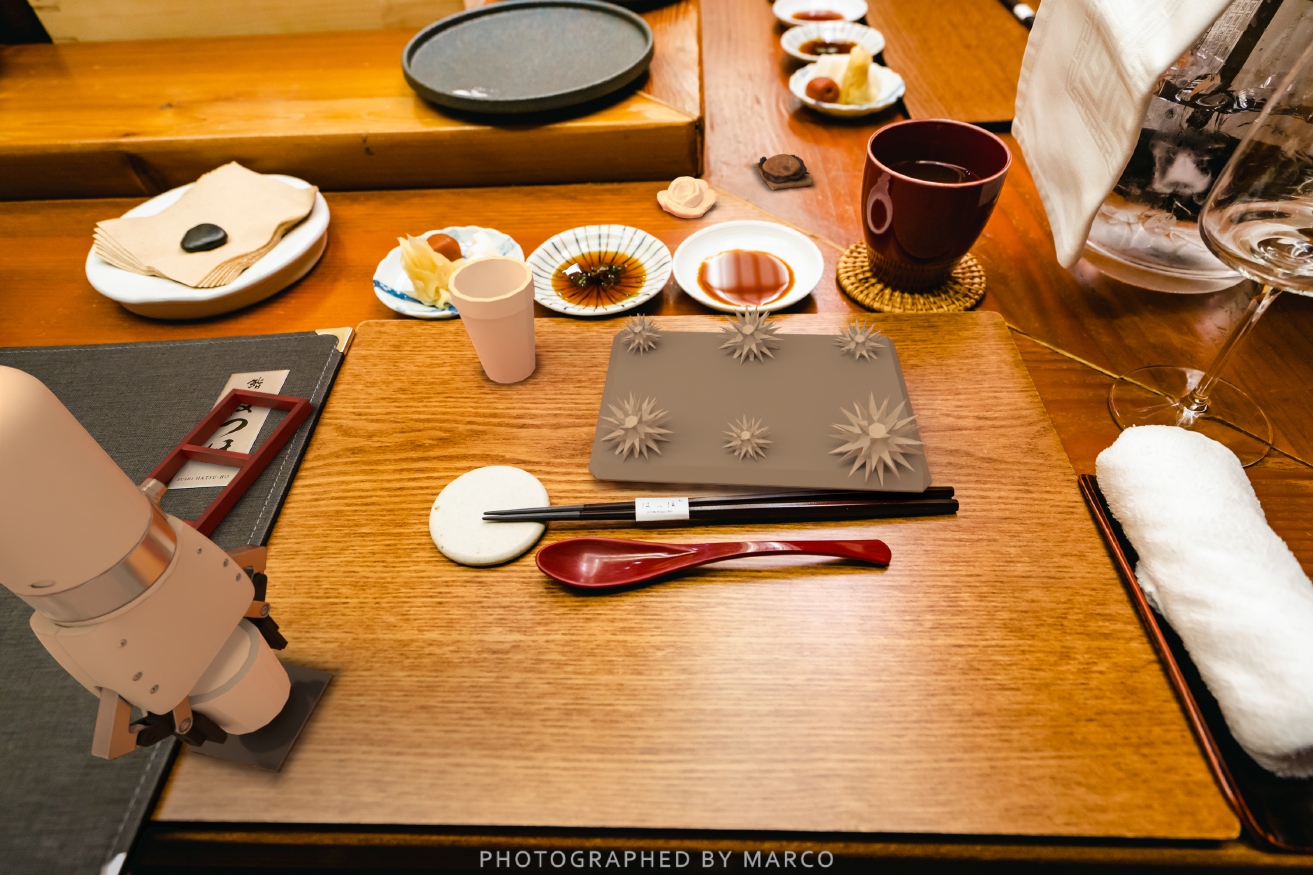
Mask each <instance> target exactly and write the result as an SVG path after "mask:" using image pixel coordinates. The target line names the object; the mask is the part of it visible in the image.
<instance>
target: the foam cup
mask: <svg viewBox="0 0 1313 875" xmlns="http://www.w3.org/2000/svg"><path fill="white" fill-rule="evenodd" d="M447 285H448V286H447V288H448V292H449V295H450V298H451V301H452V305H453V306H454V308H455V309H456V310H457V312H458V314H459V317H460V319H461V322H462V323H463V326H464V328H465V330H466V332H467V335H468V337H469V339H470V341H471V343H472V346H473V348H474V351H475V353H476V355H477V357H478V359H479V362H480V364H481V366H482V368H483V370H484V372H485V374H486V376H487V377H488V379H489V380H490V381H494V382H496V383H498V384H514V383H518V382H522V381H524V380H525V379H527V378H528V377H530V376H531V375H532V374H533V372H534V371H535V370H536V335H535V307H534V306H535V304H534V299H535V297H536V284H535V280H534V275H533V269H532V268H531V266H529V265H528V263H526V262H525V261H524V260H521V259H519V258H515V257H513V256H504V255H503V256H502V255H490V256H485V257H480V258H476V259H472V260H469V261H468V262H466V263H464V264H462V265H460V266H458V267H457V268H456V269H455V271H454V272H452V274H450V276H449V278H448V284H447Z"/></svg>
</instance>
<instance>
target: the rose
mask: <svg viewBox="0 0 1313 875" xmlns="http://www.w3.org/2000/svg"><path fill="white" fill-rule="evenodd" d="M717 199H718V196H717V193H716V191H715V190H714V189H711V188H710V186H709V183H708V182H707V181H706V180H705V179H701V178H694V177H692V176H678V177H677V178H675V179H674V180H672V181H671V183H670V184H669V185H668V188H667V189H664V190H659V191H657V194H656V200H657V202H658V203H659V204H658V205H660V206H661V208H662V210H663V211H665V212H668V213H669V214H672V215H674V216H675V217H677V218H682V219H697V218H701V217H703V215H704V214H705V213H706V212H708V211H709V210H710V209H711V208H712V207H713V205H715V203H716V202H717Z"/></svg>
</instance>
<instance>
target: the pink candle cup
mask: <svg viewBox="0 0 1313 875" xmlns="http://www.w3.org/2000/svg"><path fill="white" fill-rule="evenodd" d="M280 662H281V661H279V658H278V657H277V655H276V653H274V651H273V649H271V648H270V647H269V645H268V644H267V642H266V641H265V639H264V637H263V636H262V634H261V633H260V631H259V630H258V628H257V627H256V626H255V625H253V624H252V623H251V622H250V621H249V620H247V619H246V618H242V619H241V621H240V622H239V624H238V625H237V626H236V628H235V629H234V631H233V632H232V634H231V635H230V637H229V638H228V639H227V641H226V642H225V644H224V645H223V647H222V648H221V649H220V651H219V652H218V654H217V655H216V656H215V658H214V659H213V661H212V662H211V663H210V665H209V666H208V668H207V669H206V670H205V672H204V673H203V675H202V676H201V677H200V679H199V680H198V681H197V683H196V684H195V685H194V687H193V688H192V690H191V691H190V692H189V693H188V696H189V701H190V706H191V711H193V712H197V713H201V714H204V715H206V716H207V717H208V718H209V719H211V720H212V721H213V722H214V723H216V724H217V725H218V726H219V727H221V728H222V729H223V730H224V731H226V732H227V733H232V734H237V735H240V734H245V733H250V732H254V731H255V730H257V729H259V728H261V727H263V726H265V725H266V724H268V723H269V722H270V721H271V720H272V719H273V718H274V717H275V716H276V715H277V714H278V713H280V712H281V710H282V708H283V706H284V705H285V703H286V701H287V699H288V697H289V691H290V686H291V684H290V681H289V678H288V674H287V673H286V671H285V670H284V668H283V667H282V665H281V664H280Z"/></svg>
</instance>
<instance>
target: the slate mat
mask: <svg viewBox="0 0 1313 875" xmlns="http://www.w3.org/2000/svg"><path fill="white" fill-rule="evenodd" d="M279 662H280V664H281V665H282V667H283V668H284V670H285V671H286V673H287V674H288V678H289V681H290V684H291V686H290V691H289V697H288V699H287V701H286V703H285V705H284V706H283V708H282V710H281V712H280V713H278V714H277V715H276V716H275V717H274V718H273V719H272V720H271V721H270V722H269V723H268V724H266V725H265V726H263V727H261V728H259V729H257V730H255V731H254V732H250V733H245V734H240V735H237V734H232V733H228V734H227V736H228V738H227V740H226V741H225V743H224V744H219V743H215V742H211V741H207V740H205V742H204V743H203V745H202V746H201V747H196V746H192V745H189V744H188V745H187V747H186V750H187V751H189V752H191V753H196V754H201V755H204V756H207V757H212V758H215V759H220V760H225V761H229V762H233V763H236V764H240V765H244V766H249V767H252V768H256V769H260V770H264V771H269V772H272V773H276V774H278V773H280V770H281V769H282V767H283V765H284V764H285V762H286V760H287V759H288V757H289V755H290V753H291V752H292V750H293V749H294V747H295V745H296V743H297V741H298V739H300V736H301V734H302V732H303V731H304V729H305V727H306V726H307V724H308V722H309V720H310V718H311V717H312V715H313V714H314V711H315V710H316V708H317V707H318V705H319V703H320V701H321V699H322V698H323V696H324V694H325V693H326V690H327V689H328V687H329V685H330V684H331V682H332V680H333V678H334V676H335V675H334V673H332V672H327V671H323V670H318V669H313V668H309V667H306V666H305V667H304V666H300V665H295V664H290V663H286V662H281V661H279Z"/></svg>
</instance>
